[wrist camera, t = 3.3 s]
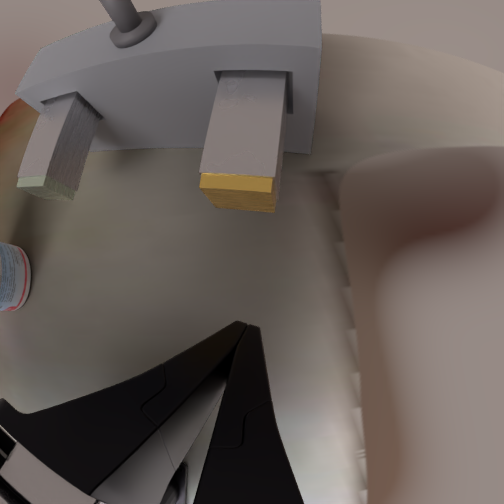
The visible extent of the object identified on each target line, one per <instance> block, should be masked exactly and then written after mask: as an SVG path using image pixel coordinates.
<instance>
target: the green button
mask: <svg viewBox="0 0 504 504" xmlns="http://www.w3.org/2000/svg"><path fill="white" fill-rule="evenodd" d="M100 117H101V114H100V113H99V112H98V111H97V110H96V109H95V108H94V107H93V106H92V105H91V104H90V103H89V102H88V101H87V100H86V99H85V98H84V97H83V96H82V95H81V94H80V93H79V92H77V91H75V92H71V93H67V94H64V95H60V96H57V97H53V98H50V99H47V100H46V102H45V104H44V107H43V109H42V111H41V113H40V116H39V118H38V120H37V123H36V125H35V128H34V130H33V133H32V135H31V138H30V141H29V143H28V146H27V149H26V152H25V155H24V157H23V160H22V163H21V167H20V170H19V173H18V176H17V177H18V178H19V180H18V183H17V188H19V189H22V190H24V191H26V192H28V193H31V194H33V195H35V196H37V197H40V198H42V199H44V200H73V197H74V193H75V191H77V190H78V186H79V182H80V179H81V175H82V172H83V168H84V165H85V162H86V158H87V155H88V152H89V149H90V146H91V143H92V140H93V137H94V134H95V131H96V128H97V126H98V123H99V120H100Z"/></svg>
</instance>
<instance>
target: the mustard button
mask: <svg viewBox="0 0 504 504" xmlns="http://www.w3.org/2000/svg"><path fill="white" fill-rule="evenodd" d="M289 90H290V78H289V71H271V70H222V73H221V77H220V81H219V85H218V89H217V93H216V97H215V101H214V105H213V109H212V113H211V118H210V122H209V126H208V131H207V135H206V140H205V145H204V149H203V154H202V159H201V164H200V169H199V173H200V175H201V180H200V186H199V188H200V189H201V190H202V191H203V193H204V194H205V195H206V196H207V197H208V199H209V200H210V201H211V202H212V203H213V205H214V206H215V207H216V208H227V209H239V210H250V211H261V212H272V213H275V205H276V201H278V199H279V190H280V181H281V172H282V162H283V152H284V142H285V132H286V122H287V112H288V101H289Z"/></svg>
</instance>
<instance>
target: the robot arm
mask: <svg viewBox="0 0 504 504" xmlns="http://www.w3.org/2000/svg"><path fill="white" fill-rule="evenodd" d="M223 391H224V394H223V397H222V401H221V405H220V408H219V412H218V416H217V419H216V423H215V427H214V430H213V434H212V438H211V441H210V445H209V449H208V452H207V456H206V459H205V463H204V466H203V470H202V474H201V477H200V481H199V484H198V488H197V491H196V495H195V498H194V502H193V504H304V502H303V499H302V496H301V494H300V491H299V488H298V485H297V483H296V480H295V477H294V474H293V471H292V469H291V466H290V463H289V460H288V457H287V454H286V452H285V449H284V446H283V443H282V440H281V437H280V434H279V430H278V427H277V423H276V419H275V414H274V409H273V403H272V398H271V392H270V386H269V380H268V374H267V368H266V362H265V355H264V349H263V343H262V337H261V331H260V328H259V327H257V326H254V325H251V324H249V325H247V323H244V322H241V321H235V322H233V323H231V324H230V325H228V326H226V327H225V328H223V329H221V330H220V331H218V332H216V333H215V334H213V335H211V336H209V337H208V338H206V339H204V340H203V341H201V342H199V343H197V344H196V345H194V346H192V347H191V348H189V349H187V350H185V351H184V352H182V353H180V354H178V355H176V356H175V357H173V358H171V359H169V360H168V361H166V362H164V363H163V364H160V365H158V366H156V367H154V368H152V369H150V370H148V371H146V372H144V373H142V374H140V375H138V376H136V377H133V378H131V379H129V380H126V381H124V382H121V383H119V384H116V385H113V386H111V387H108V388H105V389H103V390H100V391H97V392H94V393H91V394H89V395H86V396H83V397H80V398H77V399H74V400H71V401H68V402H65V403H62V404H59V405H56V406H53V407H50V408H47V409H44V410H41V411H37V412H34V413H30V414H23V413H20V412H18V411H17V410H16V409H15V408H14V407H13V406H12V405H10V404H9V403H8V402H7V401H6V400H5V399H3V398H1V399H0V425H1V426H2V427H3V428H4V429H5V430H6V431H7V432H8V433H9V434H10V435H11V436H12V437H13V438H14V439H15V440H17V442H15V441H14V440H13V439H12V438H11V437H10V436H9V435H8V434H7V433H6V432H5V431H4V430H3V429H2V428H1V427H0V504H186V487H187V469H188V468H187V465H186V464H185V463H183V462H182V460H183V459H184V457H185V455H186V454H187V452H188V450H189V449H190V447H191V446H192V444H193V442H194V441H195V439H196V437H197V436H198V434H199V432H200V431H201V429H202V427H203V426H204V424H205V422H206V421H207V419H208V417H209V416H210V414H211V412H212V410H213V409H214V407H215V405H216V404H217V402H218V400H219V398H220V397H221V395H222V393H223ZM178 467H181V468H182V469H180V468H178Z"/></svg>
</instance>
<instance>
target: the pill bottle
mask: <svg viewBox="0 0 504 504" xmlns="http://www.w3.org/2000/svg"><path fill="white" fill-rule="evenodd" d="M30 281H31V269H30V263H29V260H28V257H27V255H26V254H25V252H24V251H23V250H22V249H21V248H20V247H18V246H15V245H11V244H7V243H3V242H0V311H14V310H17V309H19V308H20V307H22V306H23V304H24V303H25V301H26V299H27V297H28V293H29V289H30Z"/></svg>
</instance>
